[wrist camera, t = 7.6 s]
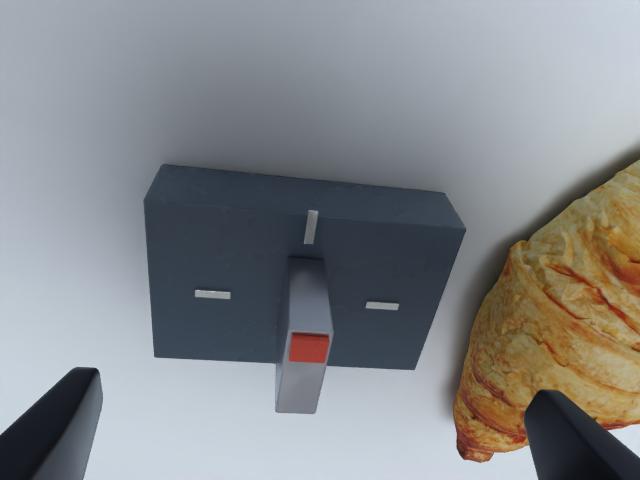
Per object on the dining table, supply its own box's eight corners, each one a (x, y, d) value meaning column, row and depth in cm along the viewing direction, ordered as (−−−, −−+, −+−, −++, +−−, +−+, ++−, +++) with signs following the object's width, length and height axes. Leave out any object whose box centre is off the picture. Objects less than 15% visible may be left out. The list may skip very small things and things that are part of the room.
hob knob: (310, 336, 21) (316, 420, 17) (276, 334, 20) (274, 419, 17) (325, 259, 18) (335, 338, 15) (287, 256, 18) (288, 334, 15)
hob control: (167, 315, 23) (153, 364, 21) (161, 159, 19) (141, 196, 16) (400, 329, 25) (414, 376, 22) (446, 188, 20) (470, 226, 18)
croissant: (620, 58, 21) (667, 62, 14) (855, 161, 19) (1038, 221, 13) (408, 372, 31) (376, 463, 24) (550, 458, 30) (559, 582, 23)
